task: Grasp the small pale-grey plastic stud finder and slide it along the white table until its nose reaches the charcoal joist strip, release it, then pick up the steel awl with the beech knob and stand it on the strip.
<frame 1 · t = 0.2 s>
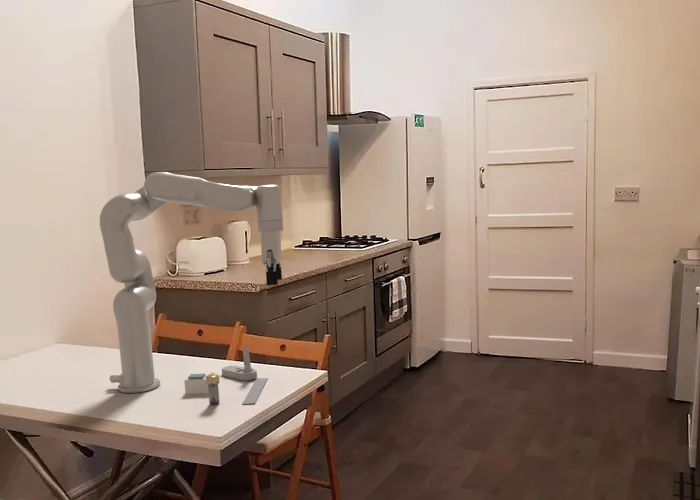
hand: (274, 282, 211), 31 cm above the table, fingers open, 9 cm apart
stud finder: (200, 391, 208), on the table
awl: (214, 403, 196), on the table
joist strip: (255, 391, 205), on the table
electronic device: (239, 377, 222), on the table
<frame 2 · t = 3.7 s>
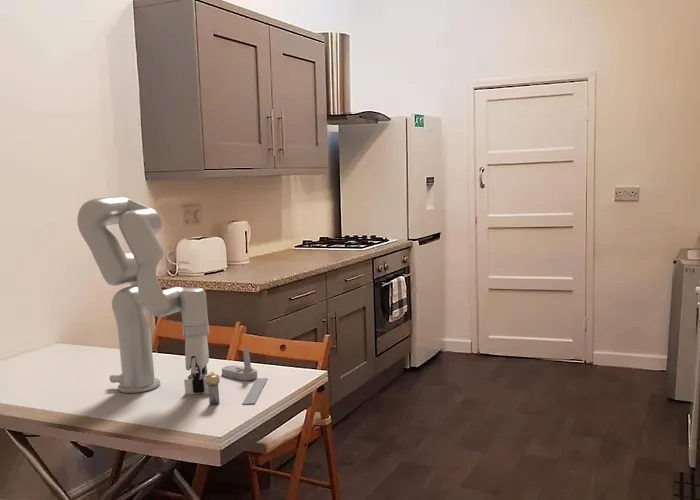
hand: (200, 389, 208), 1 cm above the table, fingers closed on stud finder, 4 cm apart
stud finder: (200, 391, 208), on the table, touching gripper
everything else where it was.
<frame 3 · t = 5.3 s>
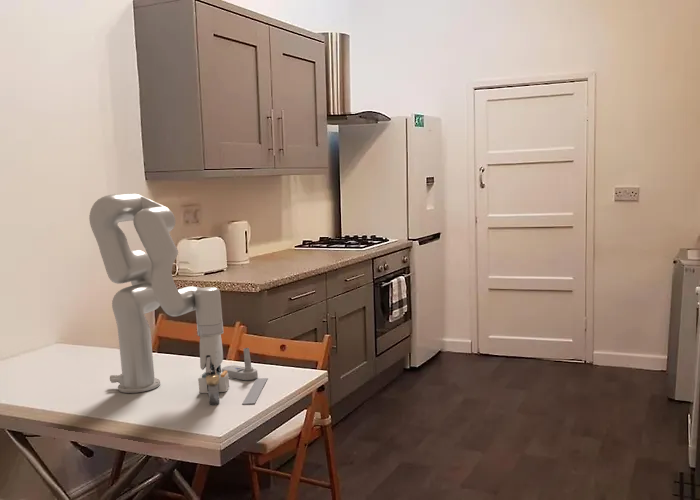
hand: (215, 388, 208), 1 cm above the table, fingers closed on stud finder, 4 cm apart
stud finder: (214, 389, 208), on the table, touching gripper
everything else where it was.
when the fingers open (0 cm above the table, at t = 6.9 s): stud finder stays where it is, on the table.
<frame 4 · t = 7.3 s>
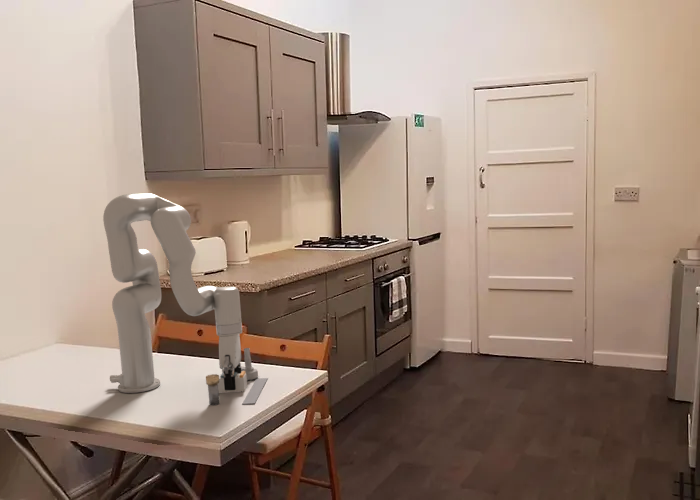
hand: (233, 385, 208), 1 cm above the table, fingers open, 9 cm apart
stud finder: (232, 390, 208), on the table
everything else where it was.
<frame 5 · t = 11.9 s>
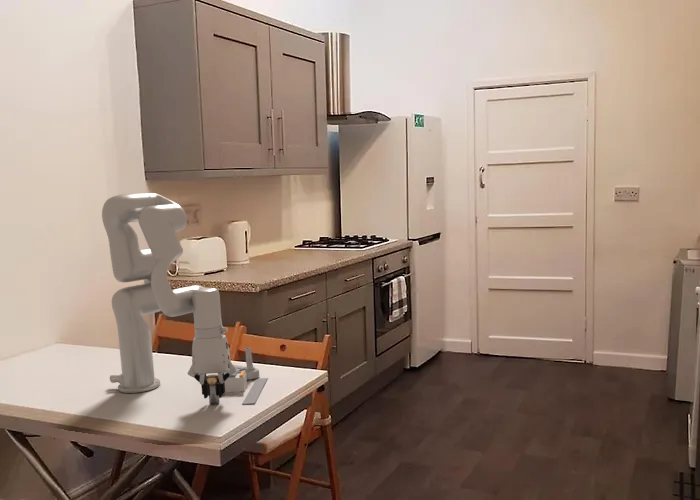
hand: (213, 395, 196), 2 cm above the table, fingers closed on awl, 3 cm apart
awl: (214, 403, 196), on the table, touching gripper
everything else where it was.
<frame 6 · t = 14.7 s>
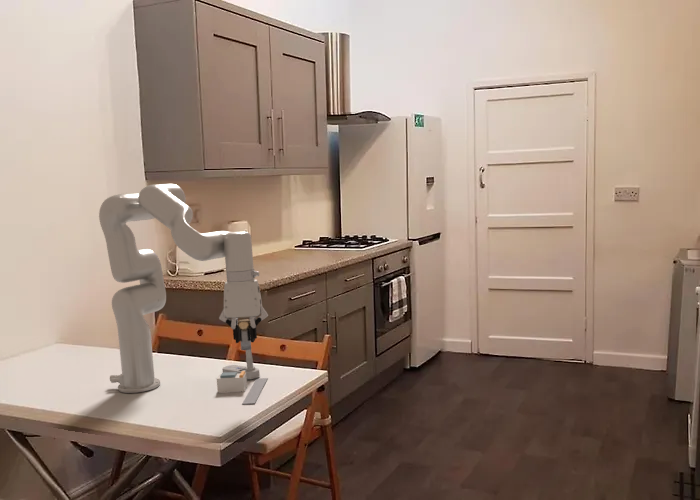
hand: (245, 341, 193), 18 cm above the table, fingers closed on awl, 3 cm apart
awl: (246, 349, 194), point 15 cm above the table, touching gripper
everything else where it was.
when the fingers open (3 cm above the table, at t = 17.3 s): awl stays where it is, resting on joist strip.
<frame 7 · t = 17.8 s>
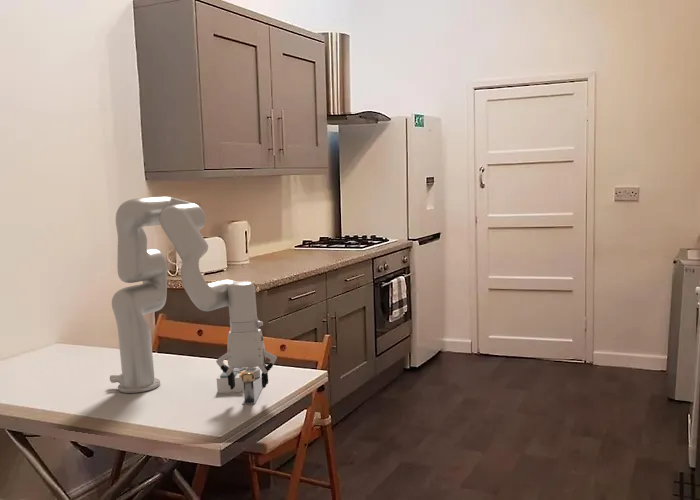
hand: (248, 386, 195), 4 cm above the table, fingers open, 8 cm apart
awl: (249, 401, 195), resting on joist strip
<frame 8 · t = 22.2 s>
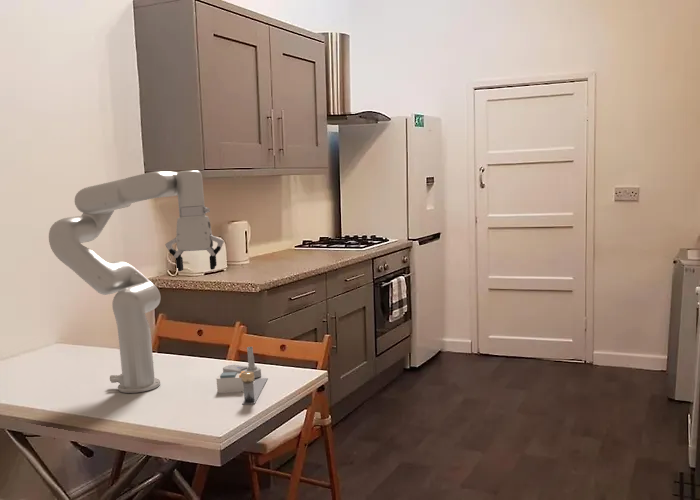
hand: (196, 269, 208), 36 cm above the table, fingers open, 9 cm apart
at the end: stud finder 0.6 cm from the target spot, on the table; awl 0.0 cm from the target spot, resting on joist strip; awl tilted 0° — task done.
